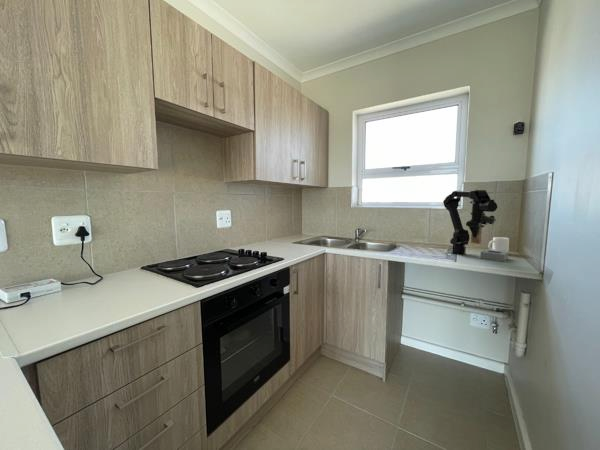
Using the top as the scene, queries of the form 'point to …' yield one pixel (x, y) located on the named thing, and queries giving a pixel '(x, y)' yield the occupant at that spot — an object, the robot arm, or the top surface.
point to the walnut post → (478, 238)
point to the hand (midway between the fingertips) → (476, 237)
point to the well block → (494, 255)
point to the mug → (499, 244)
